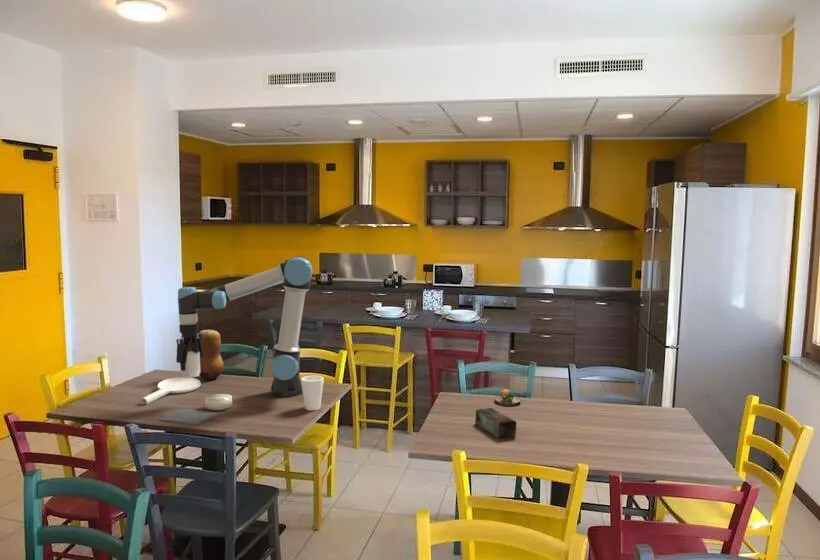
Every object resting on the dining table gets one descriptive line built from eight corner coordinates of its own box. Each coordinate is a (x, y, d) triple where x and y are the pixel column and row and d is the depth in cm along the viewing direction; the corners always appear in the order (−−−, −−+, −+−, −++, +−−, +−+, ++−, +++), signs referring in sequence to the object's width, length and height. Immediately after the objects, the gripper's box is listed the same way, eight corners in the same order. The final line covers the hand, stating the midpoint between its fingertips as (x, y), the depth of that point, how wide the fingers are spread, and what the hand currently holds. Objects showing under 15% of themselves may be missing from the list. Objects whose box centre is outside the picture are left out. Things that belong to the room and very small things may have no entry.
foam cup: (328, 407, 255) (327, 378, 254) (310, 413, 248) (310, 382, 247) (314, 403, 261) (314, 374, 260) (297, 408, 255) (296, 378, 253)
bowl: (237, 405, 258) (237, 394, 258) (222, 413, 248) (221, 401, 247) (215, 403, 261) (215, 392, 261) (199, 410, 251) (199, 399, 251)
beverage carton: (491, 421, 239) (492, 405, 238) (517, 437, 222) (517, 420, 221) (474, 423, 236) (474, 407, 235) (498, 439, 219) (499, 422, 218)
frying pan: (162, 411, 257) (162, 401, 256) (125, 405, 262) (124, 395, 261) (208, 385, 291) (208, 376, 290) (174, 380, 295) (174, 372, 294)
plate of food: (520, 407, 257) (520, 390, 256) (493, 406, 259) (493, 389, 258) (521, 399, 268) (521, 383, 268) (494, 398, 271) (495, 382, 270)
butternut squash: (228, 375, 309) (227, 328, 306) (217, 382, 295) (215, 332, 293) (202, 374, 310) (201, 327, 308) (190, 381, 297) (189, 332, 295)
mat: (218, 414, 246) (218, 412, 246) (197, 425, 233) (197, 423, 233) (182, 410, 252) (182, 408, 252) (159, 420, 239) (159, 418, 239)
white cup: (194, 378, 253) (193, 355, 252) (177, 377, 255) (176, 354, 254) (204, 373, 261) (203, 351, 260) (188, 373, 262) (187, 351, 261)
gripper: (196, 319, 266) (199, 369, 268) (164, 326, 247) (167, 380, 249) (210, 319, 264) (213, 370, 266) (179, 327, 245) (182, 381, 247)
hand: (191, 375), depth 258 cm, fingers closed on white cup, 8 cm apart
